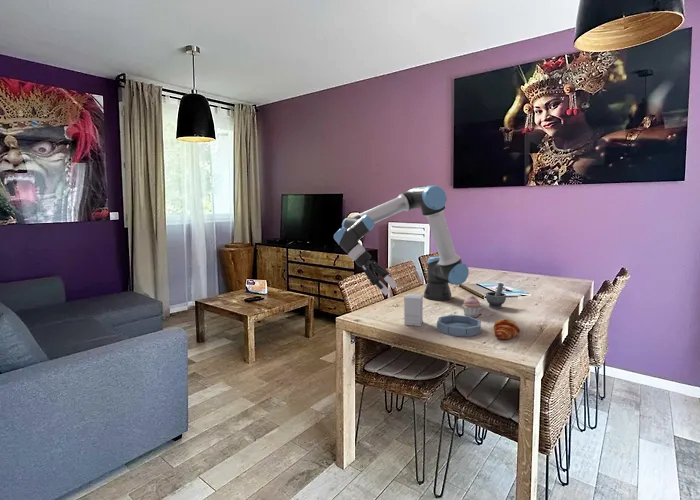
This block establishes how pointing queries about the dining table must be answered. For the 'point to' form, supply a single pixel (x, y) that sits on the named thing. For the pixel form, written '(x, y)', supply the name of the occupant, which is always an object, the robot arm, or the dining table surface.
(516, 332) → the croissant
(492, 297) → the mortar and pestle
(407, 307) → the supplement box
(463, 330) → the octagonal dish
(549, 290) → the dining table surface
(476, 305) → the cupcake
